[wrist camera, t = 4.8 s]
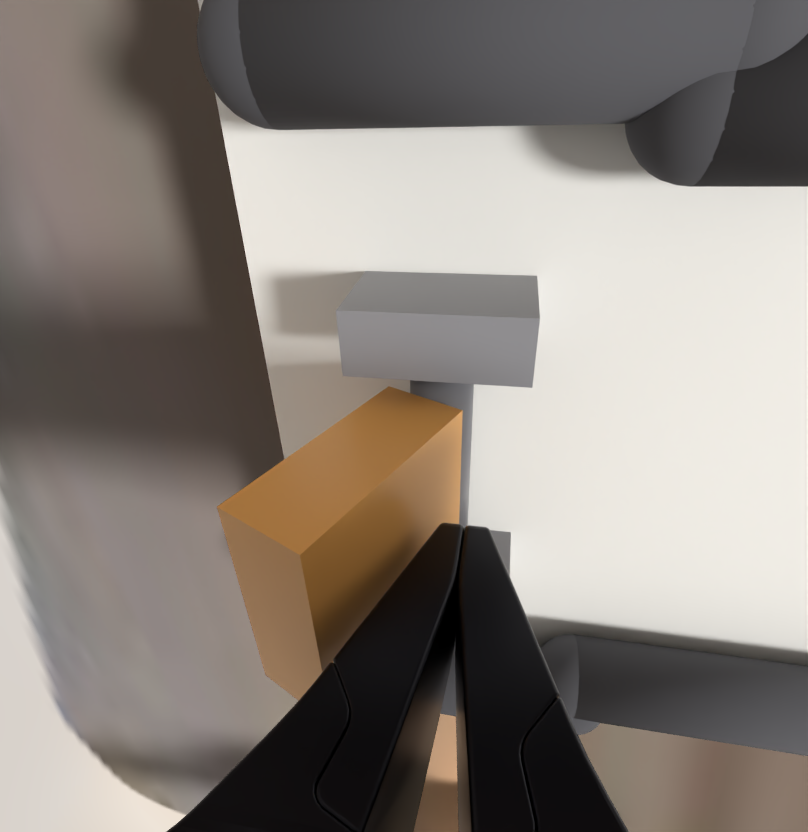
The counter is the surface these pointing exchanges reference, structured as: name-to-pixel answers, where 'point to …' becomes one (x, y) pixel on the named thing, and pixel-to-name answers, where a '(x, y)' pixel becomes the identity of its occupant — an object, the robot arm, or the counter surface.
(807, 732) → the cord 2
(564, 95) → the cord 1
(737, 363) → the white tray
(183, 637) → the counter surface
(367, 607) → the orange brick
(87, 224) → the counter surface
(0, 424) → the counter surface
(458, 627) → the robot arm
